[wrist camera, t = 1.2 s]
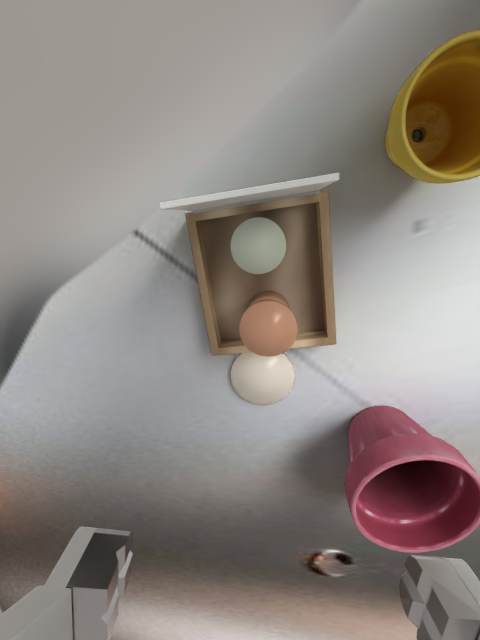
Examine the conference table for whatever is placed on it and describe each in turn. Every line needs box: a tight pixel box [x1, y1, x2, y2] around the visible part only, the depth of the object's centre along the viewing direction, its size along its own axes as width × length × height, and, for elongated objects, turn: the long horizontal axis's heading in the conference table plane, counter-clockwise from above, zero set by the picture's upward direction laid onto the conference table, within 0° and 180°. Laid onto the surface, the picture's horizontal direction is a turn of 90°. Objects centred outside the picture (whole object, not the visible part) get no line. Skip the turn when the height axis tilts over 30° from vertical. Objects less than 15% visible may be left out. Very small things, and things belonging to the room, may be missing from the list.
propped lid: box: [159, 172, 340, 214], centre depth 29 cm, size 14×1×11 cm, turn 98°
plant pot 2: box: [344, 406, 480, 553], centre depth 40 cm, size 14×14×13 cm
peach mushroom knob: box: [239, 291, 297, 357], centre depth 38 cm, size 6×6×7 cm
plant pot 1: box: [385, 30, 480, 183], centre depth 29 cm, size 10×10×10 cm
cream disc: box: [231, 352, 295, 405], centre depth 44 cm, size 9×9×1 cm
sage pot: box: [231, 217, 286, 274], centre depth 35 cm, size 6×6×6 cm
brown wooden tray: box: [185, 191, 336, 356], centre depth 39 cm, size 16×18×3 cm
